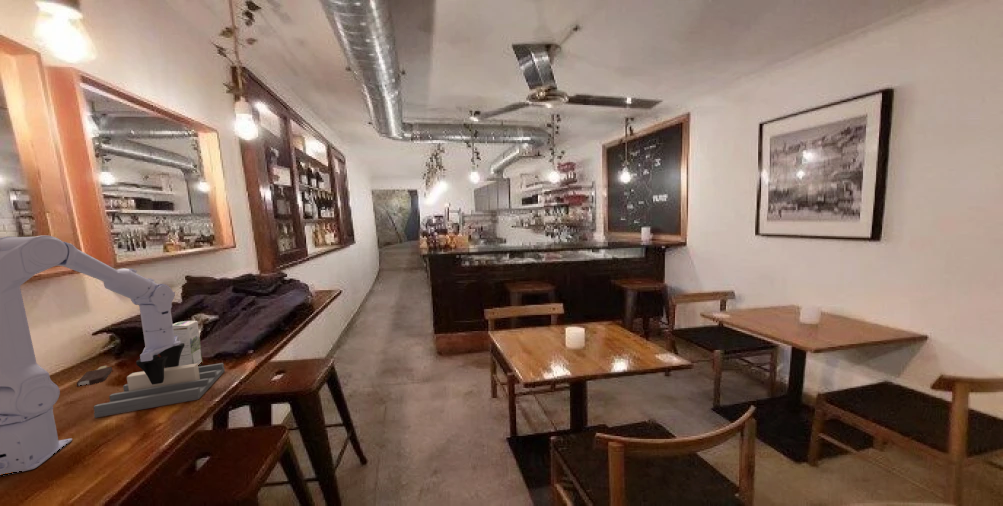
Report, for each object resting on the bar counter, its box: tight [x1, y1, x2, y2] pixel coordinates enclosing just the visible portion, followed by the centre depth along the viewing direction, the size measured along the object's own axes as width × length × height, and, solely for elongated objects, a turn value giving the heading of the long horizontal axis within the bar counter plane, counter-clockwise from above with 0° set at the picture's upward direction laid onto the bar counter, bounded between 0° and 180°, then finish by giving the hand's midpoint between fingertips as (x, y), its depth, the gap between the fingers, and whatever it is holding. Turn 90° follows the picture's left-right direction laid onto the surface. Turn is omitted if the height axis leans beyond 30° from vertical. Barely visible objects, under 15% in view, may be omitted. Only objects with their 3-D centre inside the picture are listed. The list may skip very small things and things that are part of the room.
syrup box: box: [173, 320, 203, 366], centre depth 110 cm, size 6×6×14 cm
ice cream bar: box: [76, 365, 113, 387], centre depth 107 cm, size 5×2×15 cm
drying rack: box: [93, 362, 226, 419], centre depth 95 cm, size 18×20×3 cm
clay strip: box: [126, 363, 200, 391], centre depth 95 cm, size 14×2×5 cm, turn 111°
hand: (165, 377), depth 95 cm, fingers open, 7 cm apart
